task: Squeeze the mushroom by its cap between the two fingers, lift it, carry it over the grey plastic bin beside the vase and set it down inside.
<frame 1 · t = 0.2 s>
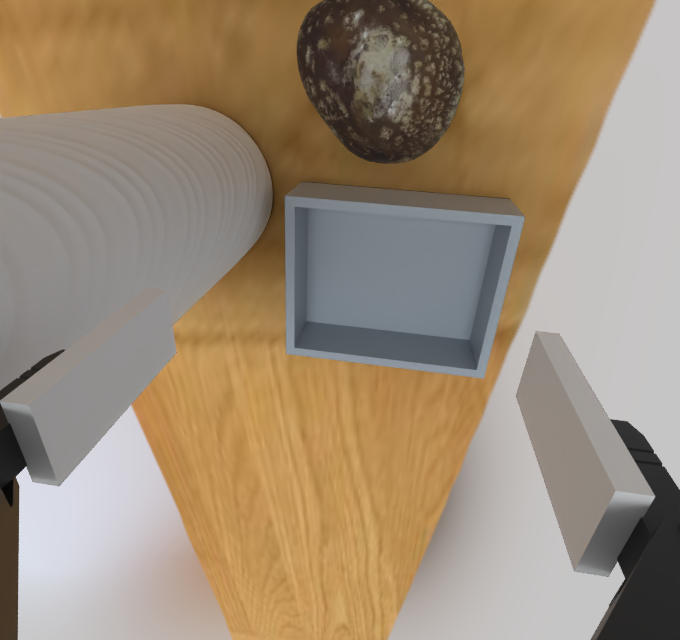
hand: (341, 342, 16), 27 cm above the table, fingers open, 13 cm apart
bin: (393, 268, 43), on the table
mushroom: (390, 80, 35), on the table
vase: (204, 185, 42), on the table
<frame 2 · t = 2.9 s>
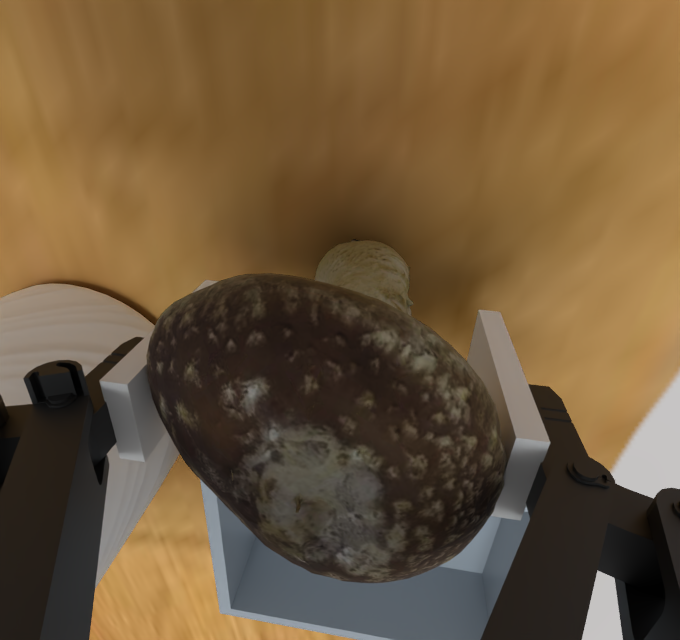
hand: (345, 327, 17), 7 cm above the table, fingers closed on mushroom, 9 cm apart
bin: (374, 485, 30), on the table
mushroom: (363, 263, 23), on the table, touching gripper
vase: (102, 374, 29), on the table
when the fingers open (8 cm above the table, at t = 9.6 s): mushroom stays where it is, resting on bin.
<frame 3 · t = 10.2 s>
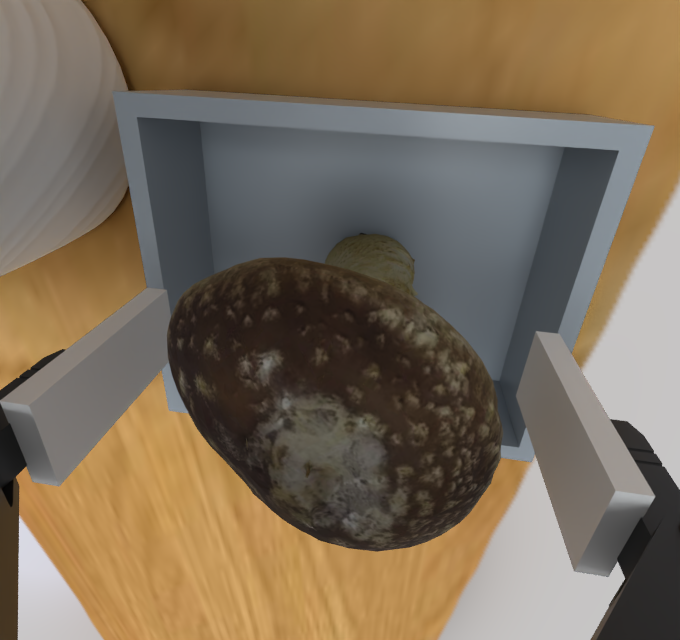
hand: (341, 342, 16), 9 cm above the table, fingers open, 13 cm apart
bin: (365, 255, 24), on the table
mushroom: (370, 257, 23), resting on bin
vase: (18, 104, 23), on the table
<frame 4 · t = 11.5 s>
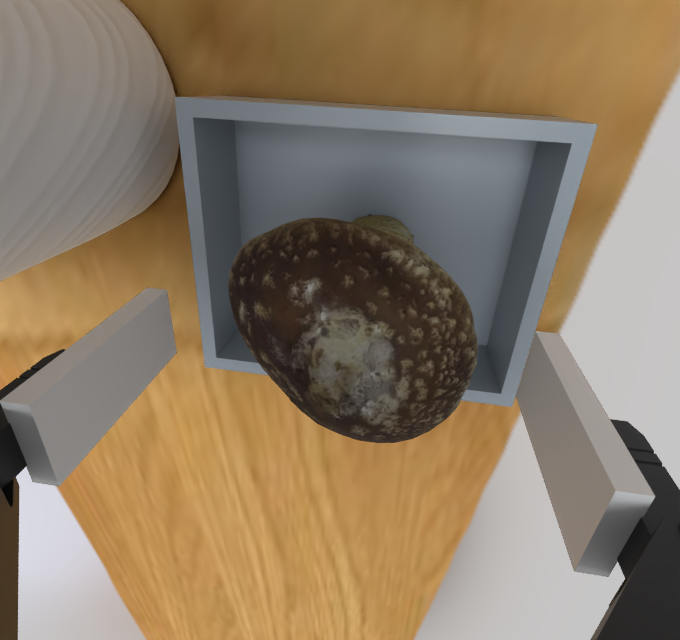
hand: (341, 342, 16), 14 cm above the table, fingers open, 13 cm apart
bin: (371, 235, 28), on the table
mushroom: (376, 237, 28), resting on bin
vase: (79, 107, 27), on the table
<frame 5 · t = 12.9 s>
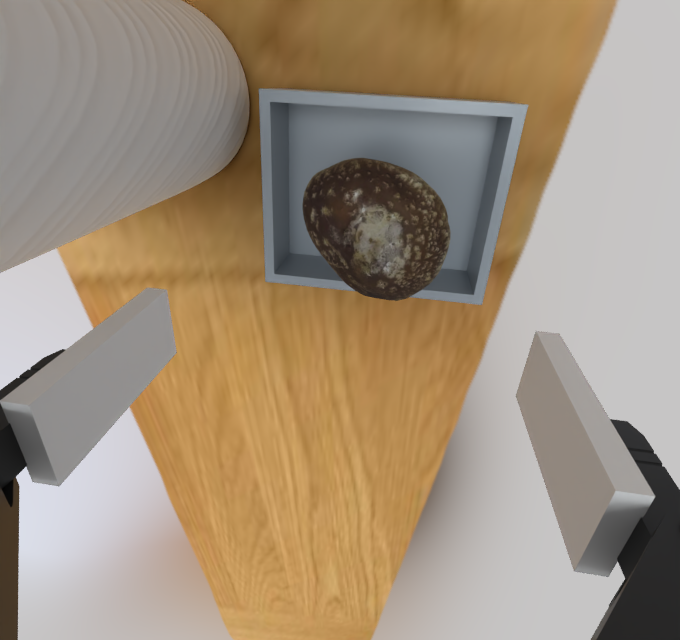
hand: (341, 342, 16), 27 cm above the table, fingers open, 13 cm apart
bin: (383, 188, 39), on the table
mushroom: (386, 189, 39), resting on bin
vase: (175, 96, 38), on the table
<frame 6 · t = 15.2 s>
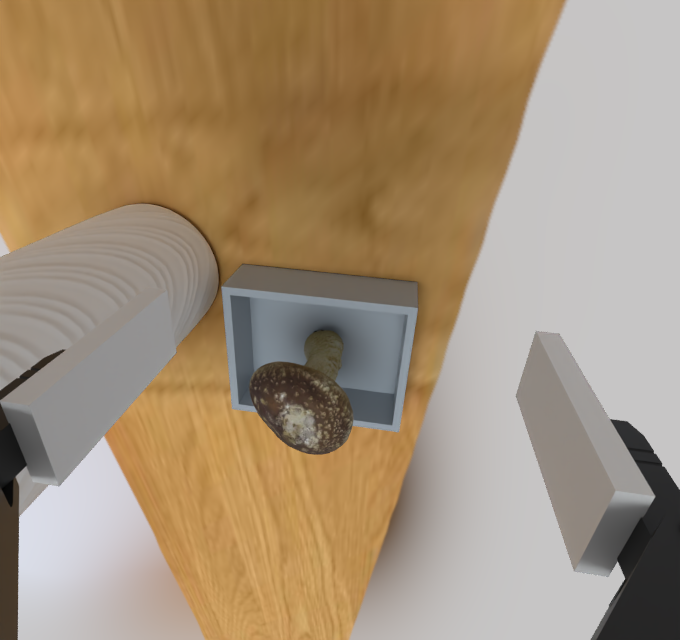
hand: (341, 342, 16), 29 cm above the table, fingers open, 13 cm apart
bin: (325, 334, 49), on the table
mushroom: (327, 335, 49), resting on bin
vase: (161, 264, 49), on the table
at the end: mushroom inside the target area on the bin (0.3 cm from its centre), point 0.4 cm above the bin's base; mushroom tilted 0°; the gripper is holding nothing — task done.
